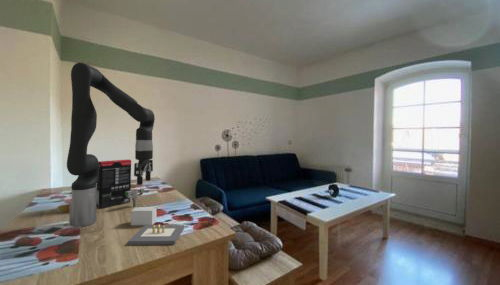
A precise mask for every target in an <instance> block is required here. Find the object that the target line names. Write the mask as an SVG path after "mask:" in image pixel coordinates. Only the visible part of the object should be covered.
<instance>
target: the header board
mask: <svg viewBox="0 0 500 285" xmlns="http://www.w3.org/2000/svg"><path fill="white" fill-rule="evenodd" d="M153 225H155V224H153ZM153 225H142V227H141V228H140V229H139V230H138V231H137V232H136V233H135V234H133V236H132V237H131V238H130V239H129V240H128V241H127V245H128V246H138V245H139V246H143V245H144V246H145V245H146V246H148V245H149V246H152V245H153V246H154V245H155V246H157V245H168V246H169V245H176V243H177V241H178V240H179V238H180V236H181V234H182V233H183V231H184V229H185V224H179V225H177V224H174V225H173V224H172V225H171V224H170V225H169V224H168V225H167V224H164V225H165V232H164V233H162V225H163V224H156V225H155V233H152V228H153ZM158 225H160V232H159V233H157V226H158Z"/></svg>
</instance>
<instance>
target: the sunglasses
mask: <svg viewBox="0 0 500 285" xmlns="http://www.w3.org/2000/svg"><path fill="white" fill-rule="evenodd" d="M70 205H72V203H67V204H61V205H58V206H57V211H58V213H59V214H67V213H68V214H69V206H70Z"/></svg>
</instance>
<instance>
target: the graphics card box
mask: <svg viewBox="0 0 500 285" xmlns="http://www.w3.org/2000/svg"><path fill="white" fill-rule="evenodd" d="M98 162H99V175H98V181H97V183H96V208H99V209H105V208H108V207H113V206H118V205H122V204H127V203H130V202H131V198H128V197H126V195H125V192H126V191H130V190H132V189H131V188H132V186H131V183H132V181H131V180H132V159H117V160H116V159H114V160H101V161H99V160H98Z"/></svg>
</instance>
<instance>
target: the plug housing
mask: <svg viewBox="0 0 500 285" xmlns="http://www.w3.org/2000/svg"><path fill="white" fill-rule="evenodd" d="M156 222H157V206H155V207H154V206H148V207H147V206H141V207H140V206H138V207H137V206H136V207H133V209H131V210H130V225H131V226H145V225H155V223H156Z"/></svg>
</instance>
